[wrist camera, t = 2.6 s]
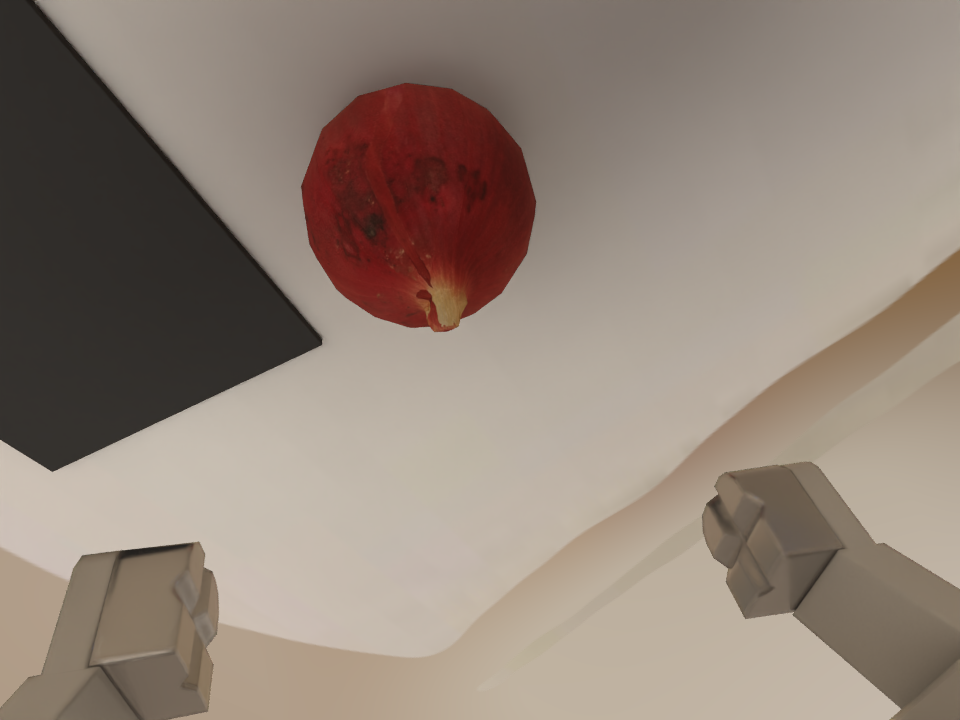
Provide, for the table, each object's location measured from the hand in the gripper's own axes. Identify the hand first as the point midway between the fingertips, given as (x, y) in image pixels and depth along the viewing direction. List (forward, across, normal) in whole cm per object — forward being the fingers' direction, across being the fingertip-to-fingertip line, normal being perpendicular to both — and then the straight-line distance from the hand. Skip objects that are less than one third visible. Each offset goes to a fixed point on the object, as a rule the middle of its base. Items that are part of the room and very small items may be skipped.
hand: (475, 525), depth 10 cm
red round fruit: (+13, 0, -1) cm, 13 cm away
